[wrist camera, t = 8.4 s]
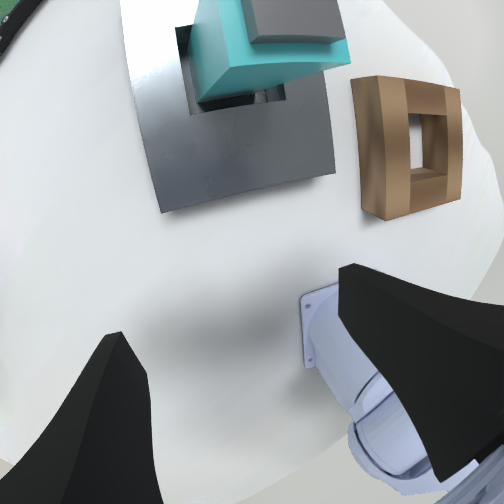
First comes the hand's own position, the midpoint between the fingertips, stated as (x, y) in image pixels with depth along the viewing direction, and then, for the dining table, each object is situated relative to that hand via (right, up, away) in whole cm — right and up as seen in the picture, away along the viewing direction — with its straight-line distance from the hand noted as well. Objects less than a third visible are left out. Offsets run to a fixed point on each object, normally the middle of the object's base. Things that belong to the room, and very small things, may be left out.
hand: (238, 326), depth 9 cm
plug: (-1, +13, +5) cm, 14 cm away
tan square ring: (+13, +11, +11) cm, 20 cm away
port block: (-1, +13, +5) cm, 14 cm away
